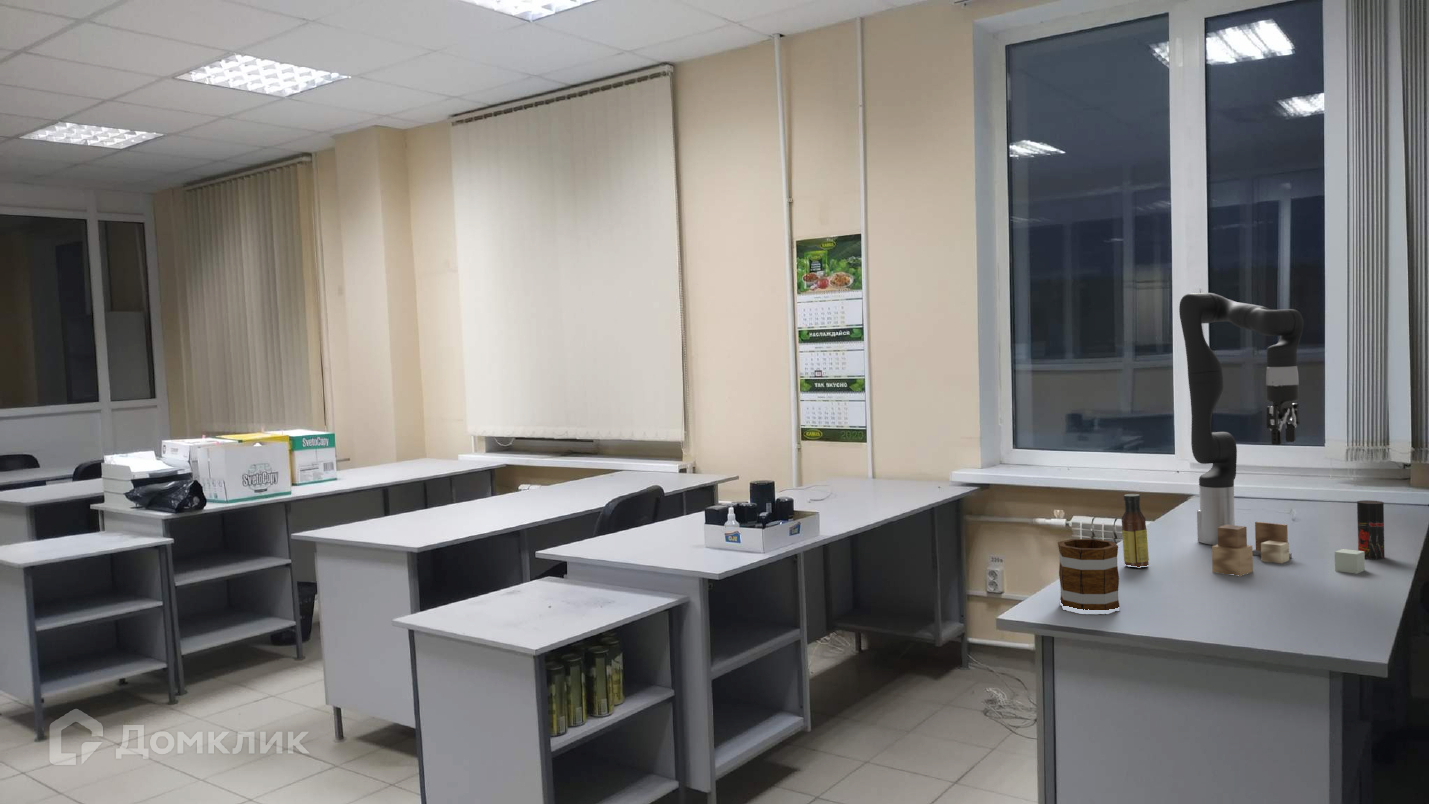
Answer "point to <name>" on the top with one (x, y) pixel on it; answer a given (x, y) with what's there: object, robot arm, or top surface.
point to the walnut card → (1269, 534)
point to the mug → (1089, 574)
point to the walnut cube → (1232, 536)
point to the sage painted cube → (1349, 561)
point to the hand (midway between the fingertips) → (1283, 443)
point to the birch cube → (1275, 551)
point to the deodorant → (1371, 528)
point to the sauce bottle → (1134, 533)
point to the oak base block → (1232, 560)
